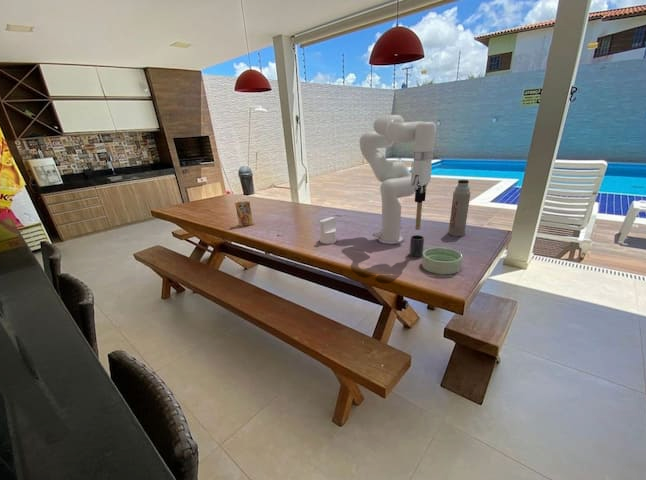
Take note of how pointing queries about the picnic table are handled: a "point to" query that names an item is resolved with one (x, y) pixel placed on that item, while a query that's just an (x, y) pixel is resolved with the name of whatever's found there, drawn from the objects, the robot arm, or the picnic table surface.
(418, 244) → the holder
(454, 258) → the bowl
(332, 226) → the cylinder with rectangular tab
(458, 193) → the thermos bottle
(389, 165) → the robot arm
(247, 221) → the candy box
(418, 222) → the stick
